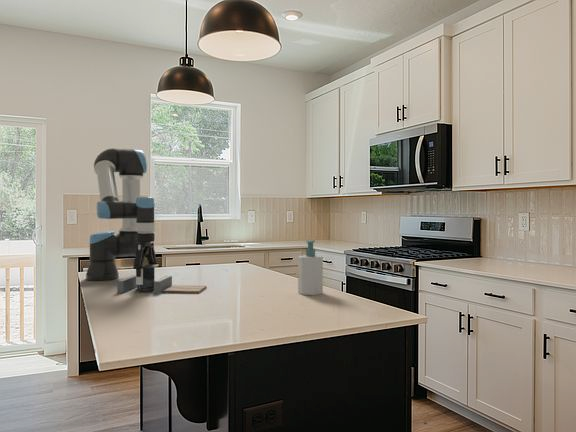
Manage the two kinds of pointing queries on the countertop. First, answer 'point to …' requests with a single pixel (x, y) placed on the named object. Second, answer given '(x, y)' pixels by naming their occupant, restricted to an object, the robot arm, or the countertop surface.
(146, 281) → the small box
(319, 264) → the soap bottle
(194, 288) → the walnut pad
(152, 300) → the countertop surface
